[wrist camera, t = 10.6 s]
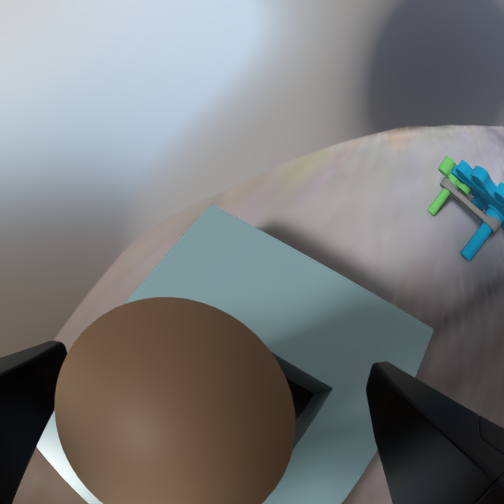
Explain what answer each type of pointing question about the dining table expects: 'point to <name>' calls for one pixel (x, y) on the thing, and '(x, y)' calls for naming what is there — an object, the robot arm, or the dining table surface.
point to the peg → (174, 407)
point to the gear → (485, 196)
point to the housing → (289, 345)
